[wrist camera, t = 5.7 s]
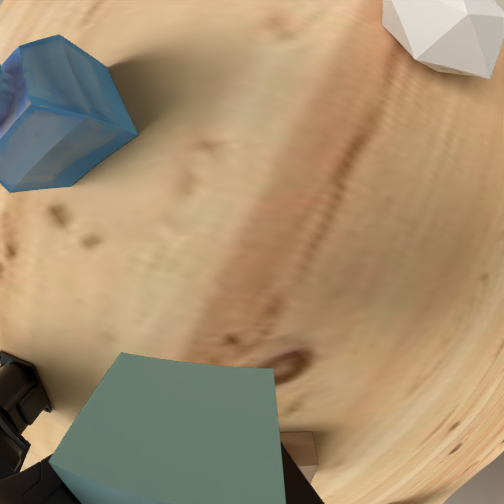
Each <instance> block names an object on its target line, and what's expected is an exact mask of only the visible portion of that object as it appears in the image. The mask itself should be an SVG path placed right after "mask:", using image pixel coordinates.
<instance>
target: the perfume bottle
mask: <svg viewBox="0 0 504 504" xmlns="http://www.w3.org/2000/svg"><path fill="white" fill-rule="evenodd" d="M137 136H138V133H137V130H136V128H135V126H134V124H133V122H132V120H131V118H130V116H129V114H128V112H127V110H126V107H125V105H124V103H123V101H122V99H121V97H120V95H119V92H118V90H117V88H116V86H115V84H114V81H113V79H112V77H111V75H110V72H109V70H108V68H107V67H106V66H105V65H103V64H102V63H100V62H99V61H98V60H96V59H95V58H93V57H92V56H90V55H89V54H88V53H86V52H85V51H83V50H82V49H80V48H79V47H77V46H76V45H74V44H73V43H71V42H70V41H68V40H67V39H65V38H64V37H62V36H61V35H55V36H51V37H47V38H44V39H40V40H37V41H33V42H30V43H27V44H24V45H21V46H19V47H18V48H17V49H16V50H15V51H14V52H13V53H12V54H11V55H10V56H9V57H8V58H7V60H6V61H5V62H4V63H3V64H2V65H0V183H1V184H2V185H3V186H4V187H5V188H6V189H7V190H8V191H9V192H10V193H13V192H21V191H30V190H39V189H49V188H61V187H71V186H72V185H73V184H74V183H75V182H77V181H78V180H79V179H80V178H81V177H83V176H84V175H85V174H86V173H88V172H89V171H90V170H91V169H93V168H94V167H95V166H96V165H98V164H99V163H100V162H102V161H103V160H104V159H106V158H107V157H108V156H110V155H111V154H112V153H114V152H115V151H117V150H118V149H119V148H121V147H122V146H124V145H125V144H126V143H128V142H129V141H131V140H132V139H134V138H135V137H137Z"/></svg>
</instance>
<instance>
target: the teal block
mask: <svg viewBox="0 0 504 504" xmlns="http://www.w3.org/2000/svg"><path fill="white" fill-rule="evenodd" d="M49 463H50V465H51V466H52V468H53V469H54V470H55V472H56V473H57V474H58V476H59V477H60V478H61V480H62V481H63V482H64V483H65V485H66V486H67V487H68V488H69V489H70V491H71V492H72V493H73V494H74V495H75V497H76V498H77V499H78V500H79V501H80V502H81V503H82V504H286V500H285V488H284V477H283V466H282V455H281V444H280V433H279V423H278V413H277V402H276V392H275V382H274V372H273V369H267V368H245V367H230V366H217V365H206V364H197V363H188V362H179V361H172V360H164V359H157V358H151V357H145V356H139V355H133V354H127V353H122V352H121V353H120V355H119V356H118V357H117V359H116V360H115V362H114V363H113V365H112V366H111V367H110V369H109V370H108V372H107V373H106V374H105V376H104V377H103V379H102V380H101V382H100V383H99V385H98V386H97V388H96V389H95V390H94V392H93V393H92V395H91V396H90V398H89V399H88V401H87V402H86V404H85V405H84V407H83V408H82V410H81V411H80V413H79V414H78V416H77V417H76V419H75V420H74V422H73V423H72V425H71V426H70V428H69V430H68V431H67V433H66V434H65V436H64V437H63V439H62V441H61V442H60V444H59V445H58V447H57V449H56V450H55V452H54V453H53V455H52V457H51V458H50V460H49Z"/></svg>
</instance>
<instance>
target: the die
mask: <svg viewBox="0 0 504 504" xmlns="http://www.w3.org/2000/svg"><path fill="white" fill-rule="evenodd" d="M382 26H384V27H385V28H386V29H387V30H388V31H389V32H390V33H391V34H392V35H393V36H394V37H395V38H396V39H397V40H398V42H399V43H400V44H401V45H402V46H403V47H404V48H405V49H406V50H407V51H408V52H409V53H410V55H411V56H412V57H413V58H414V59H415V60H416V61H418V62H420V63H422V64H424V65H426V66H428V67H430V68H432V69H433V70H435V71H437V72H444V73H453V74H461V75H467V76H474V77H479V78H485V79H490V77H491V75H492V72H493V70H494V67H495V64H496V61H497V58H498V55H499V52H500V49H501V46H502V43H503V40H504V11H503V10H502V9H501V8H500V7H499V6H498V5H497V3H496V2H495V1H494V0H383V19H382Z"/></svg>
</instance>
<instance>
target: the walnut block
mask: <svg viewBox="0 0 504 504" xmlns="http://www.w3.org/2000/svg"><path fill="white" fill-rule="evenodd" d="M279 433H280V441H281V442H282V443H283V445H284V446H285V448H286V449H287V451H288V452H289V454H290V455H291V457H292V458H293V460H294V461H295V463H296V464H297V466H298V467H299V468H300V470H301V471H302V473H303V474H304V476H305V477H306V479H307V480H308V481H309V483H311V481H312V479H313V477H314V475H315V472H316V470H317V468H318V466H319V463H318V459H317V454H316V449H315V444H314V440H313V435H312V432H279Z"/></svg>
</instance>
